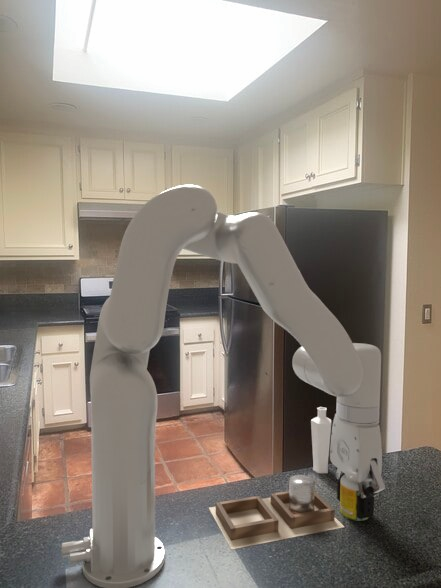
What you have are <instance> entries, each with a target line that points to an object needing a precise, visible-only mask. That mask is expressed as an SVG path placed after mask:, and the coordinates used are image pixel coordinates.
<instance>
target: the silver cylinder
mask: <svg viewBox="0 0 441 588" xmlns="http://www.w3.org/2000/svg"><path fill="white" fill-rule="evenodd" d="M288 485H289V486H288V488H289V489H288V491H289V510H290V511H291V513H292V514H293V515H294V514H300V513H305V512H311V511H314V509H315V508H314V496H315V492H316V491H315V490H316V489H315V487H316V486H315V485H316V482H315V479H314V478H313V477H311V476H309V475H306V474H294V475H292V476H290V477H289V484H288Z"/></svg>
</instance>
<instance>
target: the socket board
mask: <svg viewBox="0 0 441 588" xmlns="http://www.w3.org/2000/svg"><path fill="white" fill-rule="evenodd" d="M314 508H315V509H314V511H311V512H305V513H300V514H294V515H293V514H292V513H291V511H290V510H289V490H286V491H279V492H278V491H277V492H273V493H270V497H264V498H262V497H261V496H260V495H256V496H248V497H243V498H237V499H230V500H224V501H217V502H215V506H212V507H211V506H210V507H208V510H209V511H210V513H211V515H212V516H213V518H214V520H215V522H216V524H217V526H218V527H219V530H220V531H221V534H222V535H223V537H224V539H225V541H226V542H227V544H228V546H229V548H230V550H232V551H233V550H236V549H237V550H239V549H242V548H246V547H247V548H249V547H252V546H257V545H262V544H268V543H272V542H278V541H282V540H287V539H292V538H297V537H302V536H307V535H312V534H313V535H314V534H318V533H323V532H327V531H332V530H338V529H343V528H345V526H344V524H342V523H341V521H339V520H338V519H337V518H336V517H335V516H336V515H335V514H336V513H335V511H336V510H335V509H334V507H333V506H331V505H330V504H329V503H328V502H327V501H326V500H325V499H324V498H323V497H321V495H320V494H318V493H317V491H315V496H314Z"/></svg>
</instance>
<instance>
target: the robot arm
mask: <svg viewBox="0 0 441 588" xmlns="http://www.w3.org/2000/svg"><path fill="white" fill-rule="evenodd" d="M183 250H186V251H189V252H191V253H194V254H197V255H201V256H203V257H207V258H210V259H214V260H218V261H222V262H225V263H229V264H237V266H238V267H239V269H240V271H241V273H242V275H243V276H244V278H245V280H246V281H247V284H248V285H249V287H250V289H251V291H252V293H253V294H254V296H255V297H256V300H257V301H258V303H259V305H260V307H261V308H262V310H263V312H264V313H265V314H266V315H267V316H268V317H269V318H270V319H271V320H273V321H274V323H275V324H277V325H278V326H280V327H281V328H282V329H284V330H285V331H287V332H288V333H289V334H290V335H291V336H292V337H293V338H294V339H295V340H296V341H297V342H298V343H299V345H300V347H298V348H297V350H296V351H295V352H294V354H293V356H292V363H291V364H292V365H291V366H292V368H293V371H294V374H295V375H296V376H297V377H298V378H299V379H300V380H301V381H303V382H305V383H307V384H309V385H311V386H312V387H315V388H317V389H319V390H321V391H323V392H324V393H327V394H328V395H331V396H334V397H336V406H335V407H336V409H335V411H336V413H334V417H333V420H332V425H331V433H330V444H329V460H330V463H332V464H333V466H334V467H335V470H336V473H335V477H336V479H337V489H336V490H337V491H336V494H337V495H336V499H337V500H338V502H340V481H341V477H342V476H343V475H344V474H346V475H347V476H348V477H350V478H351V479H352V480H354V481H355V482H358V488H359V494H360V495H359V496H357V512H356V516H357V517H358V518H359V519H362V518H367V517H369V518H372V517H374V514H375V513H374V512H375V510H374V508H375V497H377V494H379V493H380V492H382V491H383V490H385V489H386V484H385V483H384V480H383V477H382V472H383V471H382V468H383V456H382V455H383V449H382V435H381V434H382V433H381V428H380V424H379V423H380V407H381V405H380V403H381V375H382V353H381V350H380V348H378V346H376V345H373V344H368V343H362V342H361V343H357V342H353V341H352V339H351V337H350V335H349V334H348V333H347V331H346V329H345V328H344V326H343V324H341V322H340V321H339V320H338V318H337V317H336V315H334V314H333V313H332V311H331V310H329V308H328V307H327V306H326V305H325V304H324V303H323V302H322V300H321V299H320V298H319V297H318V296H317V295H316V294H315V293H314V291H312V289H310V287H309V285H308V284H307V282H306V281H305V279H304V277H303V275H302V273H301V271H300V269H299V268H298V265H297V264H296V261H295V260H294V257H293V256H292V254H291V252H290V250H289V248H288V246H287V244H286V242H285V240H284V239H283V236H282V235H281V233H280V231H279V229H278V227H277V225H276V224H275V223H274V221H273V220H272V219H271V218H270V217H269V216H268V215H266V214H264V213H261V212H258V211H257V212H256V211H253V212H245V213H241V214H238V215H231V214H228V213H224V212H222V211H221V212H220V211H218V206H217V203H216V199H215V198H214V196H213V195H212V193H211V192H210V191H209V190H207V189H206V188H204V187H203V186H200V185H196V184H195V185H194V184H183V185H177V186H175V187H172V188H169V189H166V190H164V191H161V192H160V193H158V194H156V195H155V196H153V197H151V198H150V199H149V200H147V202H146V203H144V205H142V207H140V209H139V210H138V211H137V212H136V213H135V214H134V216H133V217H132V218H131V220H130V222H129V224H128V225H127V227H126V229H125V232H124V233H123V237H122V239H121V242H120V247H119V250H118V255H117V262H116V265H115V271H114V274H113V280H112V284H111V285H112V286H111V290H110V295H109V297H108V298H106V300H105V302H104V303H103V304H102V306H101V309H100V313H99V318H98V322H97V329H96V335H95V341H94V347H93V353H92V359H91V366H90V372H89V373H90V374H89V392H90V417H91V418H90V419H91V420H90V421H91V424H90V425H91V430H90V431H91V435H90V436H91V438H90V439H91V450H90V451H91V454H90V455H91V496H92V497H91V503H92V505H91V509H92V510H91V511H92V514H91V515H92V517H91V518H92V521H91V523H92V528H89V536H84V537H83V539H81V540H75V541H74V540H72V541H67V542H61V558H66V557H69V565H72V564H77V563H80V562H82V563H81V565H82V566H81V567H82V573H83V575H84V577H85V578H86V579H87V581H88V582H90V583H92V584H93V585H95V586H98V587H100V588H133V587H136V586H139V585H141V584H143V583H146V582H147V581H149V580H150V579H152V578H153V577H155V576H156V575H157V574H158V573H159V572H160V570H161V569H162V568H163V566H164V563H165V561H166V550H165V547H164V544H163V542H162V541H161V540H160V539H159V538H158V537H156V477H155V476H156V461H155V460H156V453H155V451H156V450H155V448H156V445H155V444H156V428H157V417H158V416H157V413H158V393H157V388H156V384H155V381H154V380H153V377H152V375H151V374H150V371H148V369H147V368H148V363H149V358H150V351H151V349H152V348H154V347H155V346H156V345H157V344H158V343H159V341H160V339H161V337H162V335H163V332H164V327H165V320H166V312H167V311H166V309H167V305H168V304H167V303H168V298H169V297H168V296H169V291H170V284H171V281H172V275H173V272H174V268H175V264H176V262H177V259H178V256H179V255H180V253H181V251H183ZM364 482H368V483H369V487H367V488H366V489H365V486H364Z"/></svg>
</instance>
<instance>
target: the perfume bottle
mask: <svg viewBox="0 0 441 588" xmlns="http://www.w3.org/2000/svg"><path fill="white" fill-rule="evenodd" d="M316 409H317V416H315V417H313V418H312V419H311V420H310V426H311V427H310V429H311V445H312V461H313V462H312V463H313V464H312V465H313V467H312V470H313V471H314V472H316V473H317V474H328V472H329V469H328V466H329V465H328V464H329V457H330V445H331V434H332V419H331V418H329V417H327V407H323V406H319V407H316Z"/></svg>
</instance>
